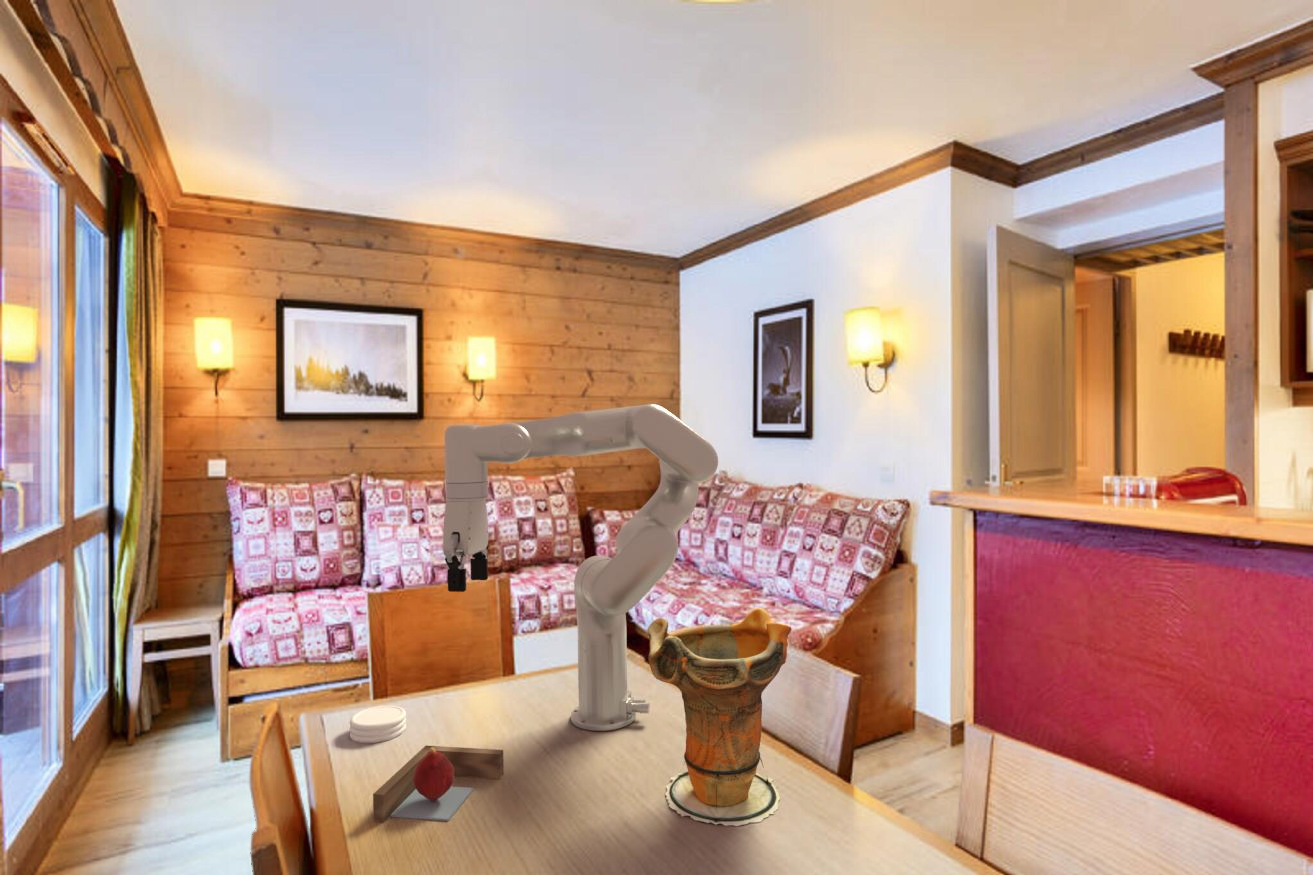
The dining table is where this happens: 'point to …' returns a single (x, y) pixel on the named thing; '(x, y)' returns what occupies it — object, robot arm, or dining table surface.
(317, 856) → the dining table surface
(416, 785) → the onion
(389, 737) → the coaster
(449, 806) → the pad
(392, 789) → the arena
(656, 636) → the decorative vase
